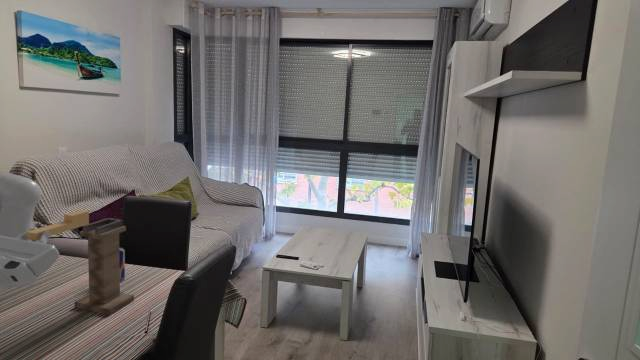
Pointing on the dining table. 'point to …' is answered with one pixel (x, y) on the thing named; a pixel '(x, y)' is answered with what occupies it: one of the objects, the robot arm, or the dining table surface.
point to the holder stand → (104, 268)
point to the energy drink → (122, 263)
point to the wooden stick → (62, 225)
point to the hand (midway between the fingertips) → (41, 231)
